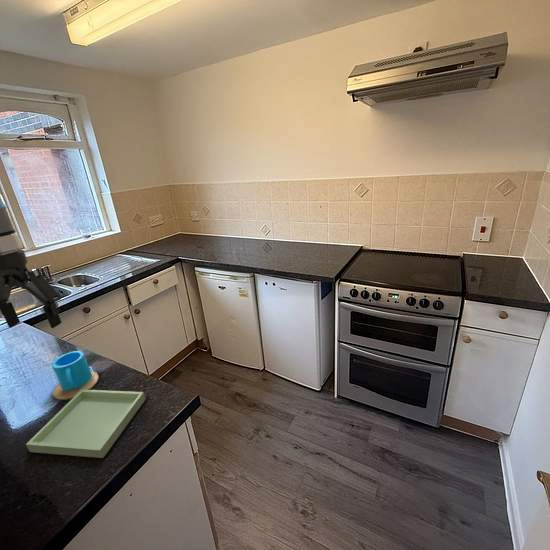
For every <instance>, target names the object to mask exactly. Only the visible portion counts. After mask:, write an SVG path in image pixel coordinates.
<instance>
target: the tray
mask: <svg viewBox="0 0 550 550" xmlns="http://www.w3.org/2000/svg"><path fill="white" fill-rule="evenodd" d="M146 400H147V398H146V395H145V392H144V391H127V390H125V391H124V390H105V389H104V390H101V389H90V390H81V391H80V392H79V393H78V394H77V395H76V396H75V397H74V398H72V399H70V401H68V403H66V404H65V405H64V406H63V407H62V408H61V409H60V410H59V411H58V412H57V413H56V414H55V415H53V417H52V418H51V419H50V420H49V421H48V422H47V423H46V424H45V425H44V426H42V428H41V429H40V430H39V431H38V432H36V433H35V434H34V436H33V437H31V438H30V439H29V441H27V443H26V444H25V446H26V448H27V450H28V451H29V453H37V454H50V455H59V456H60V455H61V456H74V457H85V458H98V459H104V458H105V456H106V455H107V454H108V453H109V452H110V450H111V448H112V447H113V445H114V444H115V443H116V441H118V439H119V437H120V436H121V435H122V433H123V432H124V430H125V429H126V427H127V426H128V425H129V423H130V422H131V420H132V419H133V418H134V416H135V415H136V413H138V411H139V410H140V408H141V406H142V405H143V404H144V403H145V402H146Z"/></svg>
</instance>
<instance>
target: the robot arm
mask: <svg viewBox="0 0 550 550" xmlns="http://www.w3.org/2000/svg"><path fill="white" fill-rule="evenodd" d="M28 262H29V260H28V258H27V256H26V253H25V251H24V249H22V243H21V241H20V239H19V236H18V234H17V231H16V229H15V227H14V224H13V222H12V218H11V216H10V213H9V210H8V206H7V204H6V203H5V201H4V198H3V196H2V195H1V194H0V313H1V315H2V316H3V317H4V320H5V323H6V324H7V326H8V328H13V327H14V326H16V325H18V324H21V320H20V318H19V317H18V314H17V311H16V309H15V307H14V305H13V303H12V302H11V299H10V297H11V294H12V291H13V288H21V289H22V290H26V291H27V292H29V294H31V295H32V296H33V297H34V298H36V299H37V300H38V301H39V302H41V303H42V304H43V305H42V309H43V311H44V313H45V316H46V319H47V321H48V323H49V326H50V328H51V329H55V328H56V327H58V326H59V325H61V324H62V320H61V317H60V314H59V309H58V306H57V304H56V303H57V302H59V301H61V300H62V296H61V295H60V294H59V293H58V291H56V290H55V288H54V287H53V286H52V285H51V284H50V283H49V281H47V279H46V278H45V277H44V276H43V274H42V273H41V270H40V269H39V268H38V267H33V268H31V269H28V267H27V264H28Z"/></svg>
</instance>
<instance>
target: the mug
mask: <svg viewBox="0 0 550 550" xmlns="http://www.w3.org/2000/svg"><path fill="white" fill-rule="evenodd" d="M51 367H52V369H53V371H54V373H55V375H56V378H57V380H58V382H59V384H61V387H62V388H63V389H64V390H74V389H76V388H78V387H81V386H82V385H84V384H86V383H87V382H88V381H89V380H90V379H91V377H92V374H91V371H92V370H91V369H90V365H89V363H88V361H87V359H86V356H85V354H84V351H82V350H72V351H68V352H65V353H64V354H62V355H60V356H58V357H56V358H55V359H54V361H53V362H52V363H51Z"/></svg>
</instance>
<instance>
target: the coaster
mask: <svg viewBox="0 0 550 550" xmlns="http://www.w3.org/2000/svg"><path fill="white" fill-rule="evenodd" d="M90 371H91V374H92V377H91V379H90V380H89V381H88V382H87V383H86V384H84V385H82V386H81V387H78V388H76V389H74V390H64V389H63V388H62V387H61V384H60V383H58V384H57V386H55V388H54V389H53V392H52V396H53V398H54V399H56V400H57V401H68V400H72V399H73V398H74V397H75V396H76V395H77V394H78V393H79V392H80V391H81V390H92V389H93V388H94V387H95V385H97V384H98V381H99V379H100V377H99V374H98V372H97V371H92V370H90Z"/></svg>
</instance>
